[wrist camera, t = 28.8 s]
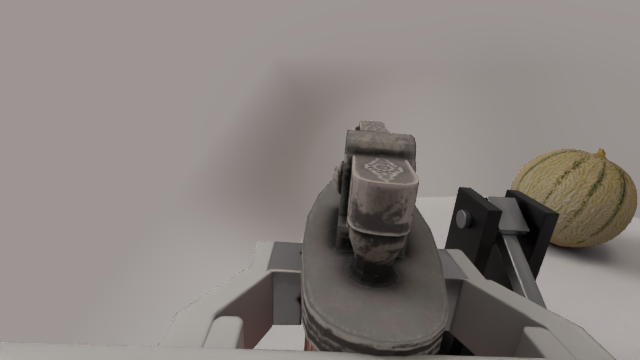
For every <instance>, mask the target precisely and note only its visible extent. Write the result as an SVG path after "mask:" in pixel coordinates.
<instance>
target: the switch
mask: <svg viewBox="0 0 640 360" xmlns="http://www.w3.org/2000/svg"><path fill="white" fill-rule="evenodd" d="M485 199H487V200H488V201H489V202H491V203H492V204H494V205H495V206H496V207H498V208H499V209H500V210H502V211H503V212H502V216H501V219H500V223H499V226H498V229H497V233H496V236H495V239H494V243H493V244H497V247H498V249H499V252H500V255H501V258H502V260H503V263H504V266H505V269H506V271H507V274H508V277H509V279H510V282H511V285H512V288H513V290H514V292H515V293H517V294H519V295H521V296H523V297H525V298H526V299H528V300H530V301H532V302H534V303H536V304H538V305H540V306H542V307H544V308H546V306H545V303H544V301H543V298H542V296H541V294H540V291H539V289H538V287H537V284H536V282H535V279H534V277H533V275H532V272H531V270H530V267H529V265H528V263H527V260H526V258H525V255H524V253H523V251H522V248H521V246H520V243H519V241H518V239H519V238H520V237H522V236H523V235H525V234H526V233H527V232H529V228H528V226H527V224H526V221H525V219H524V217H523V215H522V213H521V210H520V208H519V206H518V204H517V201H516V199H515V198H508V197H486V198H485ZM546 309H547V308H546Z"/></svg>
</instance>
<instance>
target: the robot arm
mask: <svg viewBox="0 0 640 360" xmlns="http://www.w3.org/2000/svg"><path fill="white" fill-rule="evenodd" d="M302 244H303V243H291V242H274V241H259V242H258V243H257V246H256V249H255V252H254V255H253V257H252V260H251V263H250V266H249V269H248V270H243V271H241V272H240V273H238V274H237V275H235V276H234V277H232V278H230V279H229V280H227V281H226V282H224V283H223V284H221V285H220V286H218V287H217V288H215V289H213V290H212V291H210V292H209V293H207V294H205V295H204V296H202V297H201V298H199V299H198V300H196V301H194V302H193V303H191V304H190V305H188V306H187V307H185V308H183V309H182V310H180V311H179V312H177V313H176V315H175V316H174V318H173V320H172V321H171V323H170V325H169V327H168V328H167V330H166V332H165V333H164V335H163V337H162V338H161V340H160V342H159V344H158V345H157V346H130V345H129V346H128V345H98V344H97V345H96V344H65V343H33V342H0V360H616V359H615V358H614V357H613V356H612V355H611V354H610V353H609V352H607V351H606V350H605V349H604V348H603V347H602V346H601V345H600V344H599V343H598V342H597V341H596V340H595V339H594V338H593V337H592V336H591V335H589V334H588V333H587V332H586V331H585V330H584V329H583V328H582V327H580V326H578V325H576V324H574V323H572V322H570V321H569V320H567V319H565V318H563V317H561V316H559V315H557V314H555V313H553V312H551V311H549V310H547V309H546V308H544V307H542V306H540V305H538V304H536V303H534V302H532V301H530V300H528V299H526V298H525V297H523V296H521V295H519V294H517V293H515V292H513V291H511V290H509V289H507V288H505V287H504V286H502V285H500V284H498V283H496V282H494V281H492V280H486V279H485V278H484V277H483V275H482V274H481V273H480V272H479V271H478V270H477V268H476V267H475V266H474V265H473V264H472V262H471V261H470V260H469V259H468V258H467V257H466V255H465V254H464V253H463V252H462V251H461V250H459V249H438V252H439V255H440V258H441V261H442V265H443V273H444V280H445V287H446V295H447V302H448V309H449V311H448V316H447V320H446V325H445V329H444V330H445V331H450V333H451V334H452V335H453V336H455V337H456V338H457V339H458V340H459V341H460V342H461V343H462V344H463V345H464V346H466V347H467V348H468V349H469V350H470V351H471V352H472V353H473V354H474V355H475V356H454V355H412V356H406V357H401V356H374V355H368V354H360V353H351V352H325V351H292V350H260V349H253V348H254V347H255V346H256V345H257V344H258V342H259V341H260V340H261V339H262V338H263V337H264V335H265V334H266V333H267V332H268V331H269V329H270V328H271V327H272V325H301V320H302V297H301V259H302Z"/></svg>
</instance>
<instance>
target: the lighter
mask: <svg viewBox="0 0 640 360" xmlns="http://www.w3.org/2000/svg"><path fill="white" fill-rule="evenodd" d="M415 156H416V143H415V138H414V137H413V136H412V135H406V134H394V133H390V132H389V130H388V129H387V127H386V125H385V124H384V123H382V122H376V121H360V123H359V126H357V127H354V129H353V130H347V137H346V146H345V156H344V161H342V162H340V163H339V164H338V165H337V166H336V168H335V169H334V172H333V176H332V179H333V180H332V181H330V182H329V184H328V185H327V186H326V187H325V188H324V189H323V191H322V192H321V193H320V194H319V195H318V197H317V199H316V201H315V203H314V205H313V206H312V209H311V210H310V212H309V214H308V217H307V222H306V228H305V233H304V239H303V244H302V259H301V297H302V324H303V327H304V331H305V348H304V351H325V352H351V353H360V354H368V355H374V356H401V357H406V356H412V355H438V352H439V348H440V345H441V341H442V337H443V333H444V329H445V325H446V320H447V316H448V311H449V309H448V302H447V295H446V287H445V280H444V273H443V265H442V261H441V258H440V255H439V252H438V249H437V247H436V244H435V241H434V238H433V235H432V232H431V229H430V228H429V226H428V225H427V223H426V221H425V220H424V218H423V217H422V215H421V214H420V212H419V211H418V209H417V207H416V206H415V202H416V196H417V191H418V185H419V178H418V176H417V175H416V162H415V158H416V157H415Z"/></svg>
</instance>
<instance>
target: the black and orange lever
mask: <svg viewBox="0 0 640 360" xmlns="http://www.w3.org/2000/svg"><path fill="white" fill-rule="evenodd" d="M505 197H508V198H515V199H516V201H517V204H518V206H519V208H520V210H521V213H522V215H523V217H524V219H525V221H526V224H527V226H528V228H529V232H527V233H526V234H525V235H523V236H522V237H520V238H519V239H518V241H519V243H520V246H521V248H522V251H523V253H524V255H525V258H526V260H527V263H528V265H529V267H530V270H531V272H532V275H533V277H534V279H535V281H536V278H537V275H538V273H539V270H540V267H541V265H542V262H543V259H544V256H545V254H546V251H547V248H548V245H549V243H550V240H551V237H552V234H553V232H554V229H555V226H556V224H557V221H558V218H559V215H560V214H559V213H557V212H556V211H554V210H552V209H550V208H549V207H547V206H545V205H543V204H541V203H540V202H538V201H536V200H534V199H533V198H531V197H529V196H527V195H526V194H524V193H522V192H520V191H519V190H507V192H506V195H505ZM502 212H503V211H502V210H500V209H499V208H498V207H496V206H495V205H494V204H492V203H491V202H489V201H488V200H487V199H485V198H484V197H482V196H481V195H480V194H478V193H477V192H476V191H474V190H473V189H471V188H464V187H463V188H462V187H460V188H459V190H458V194H457V198H456V202H455V207H454V211H453V215H452V219H451V224H450V228H449V232H448V237H447V241H446V245H445V249H459V250H461V251H462V252H463V253H464V254H465V255H466V257H467V258H468V259H469V260H470V261H471V262H472V264H473V265H474V266H475V267H476V268H477V270H478V271H479V272H480V273H481V274H482V275H483V277H484V278H485V279H486V280H492V281H494V282H496V283H498V284H500V285H502V286H504V287H505V288H507V289H509V290H511V291H513V292H514V290H513V288H512V285H511V282H510V279H509V277H508V274H507V271H506V269H505V266H504V263H503V260H502V258H501V255H500V252H499V249H498V247H497V244H493V243H494V239H495V236H496V233H497V229H498V226H499V223H500V219H501V216H502ZM438 355H454V356H475V355H474V354H473V353H472V352H471V351H470V350H469V349H468V348H467V347H466V346H464V345H463V344H462V343H461V342H460V341H459V340H458V339H457V338H456V337H455V336H453V335H452V334H451V333H450V331H445V330H444V333H443V337H442V341H441V345H440V348H439V352H438Z"/></svg>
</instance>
